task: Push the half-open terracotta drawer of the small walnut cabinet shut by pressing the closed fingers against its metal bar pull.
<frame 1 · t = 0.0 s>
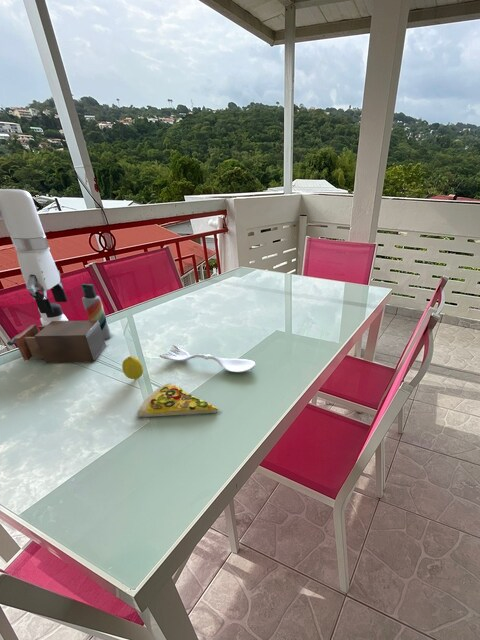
hand: (54, 307, 97), 19 cm above the table, tool pointing down, fingers open, 9 cm apart
drawer: (43, 341, 109), point 5 cm above the table, slide at 5.0 cm
pizza slice: (183, 407, 92), on the table
container: (61, 339, 123), on the table
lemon: (135, 380, 102), on the table
lotion bottle: (103, 337, 126), on the table
cabinet: (77, 354, 114), on the table
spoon: (210, 365, 112), on the table
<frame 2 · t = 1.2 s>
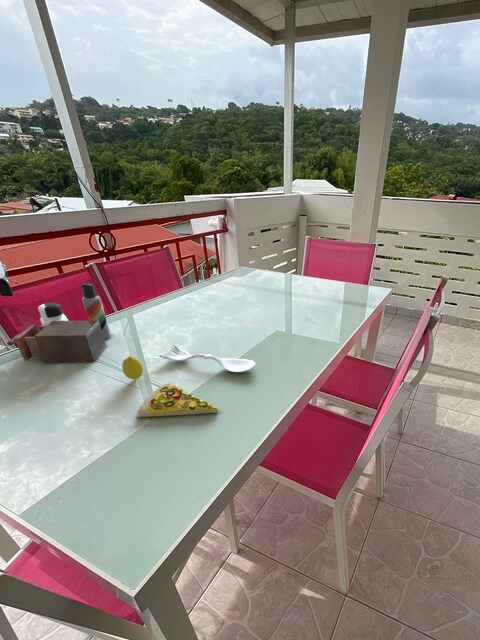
nothing on the table moved.
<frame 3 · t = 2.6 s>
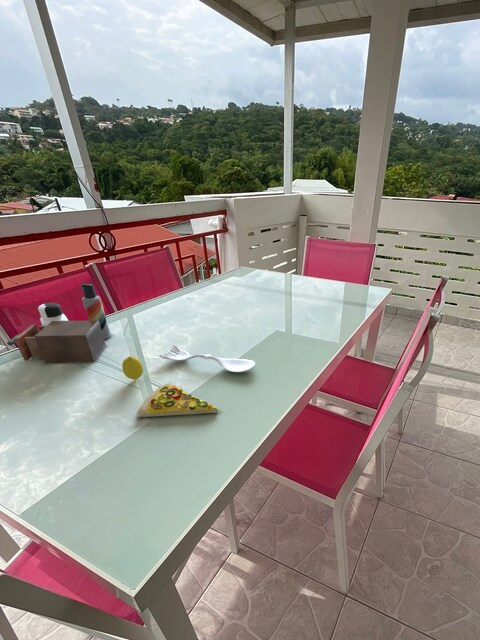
nothing on the table moved.
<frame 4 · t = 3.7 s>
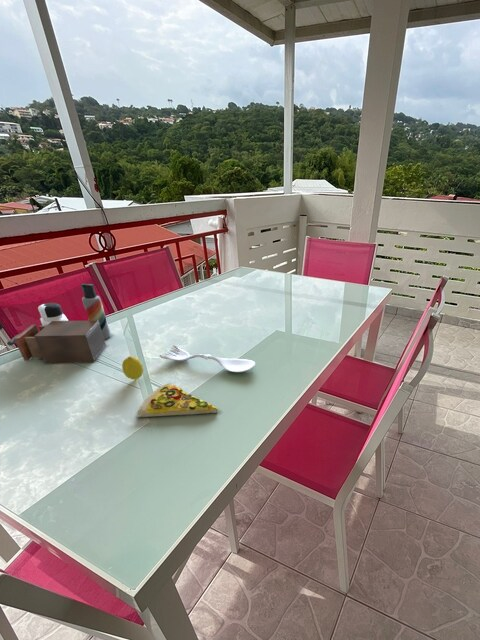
nothing on the table moved.
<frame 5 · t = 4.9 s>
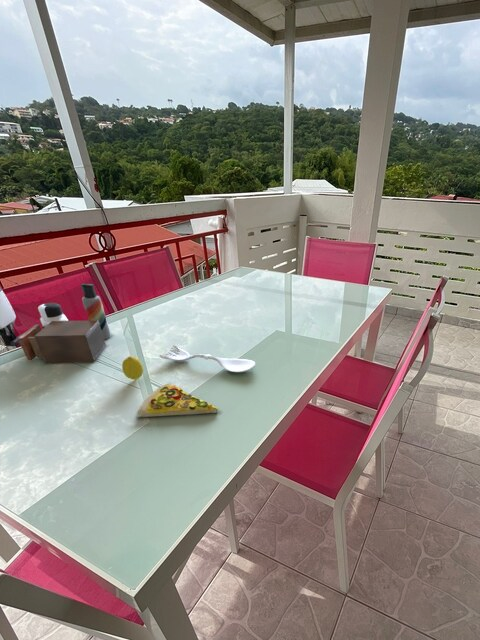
hand: (12, 345, 108), 4 cm above the table, tool pointing down, fingers closed
drawer: (47, 341, 110), point 5 cm above the table, slide at 4.0 cm, touching gripper
everything else where it was.
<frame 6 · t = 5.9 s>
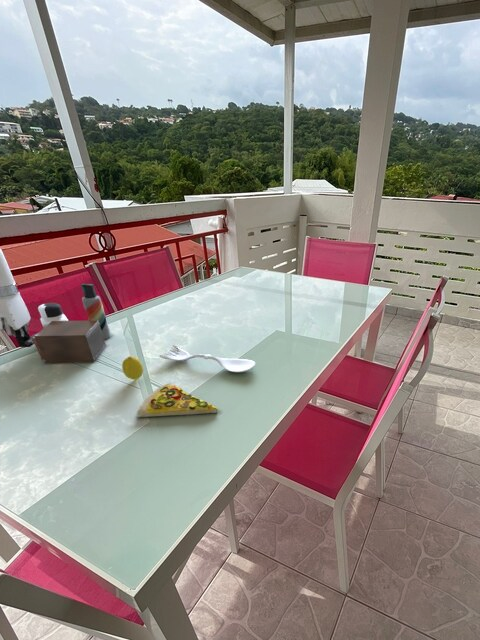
hand: (26, 346, 109), 3 cm above the table, tool pointing down, fingers closed
drawer: (60, 341, 110), point 5 cm above the table, slide at 0.0 cm, touching cabinet, gripper
everything else where it was.
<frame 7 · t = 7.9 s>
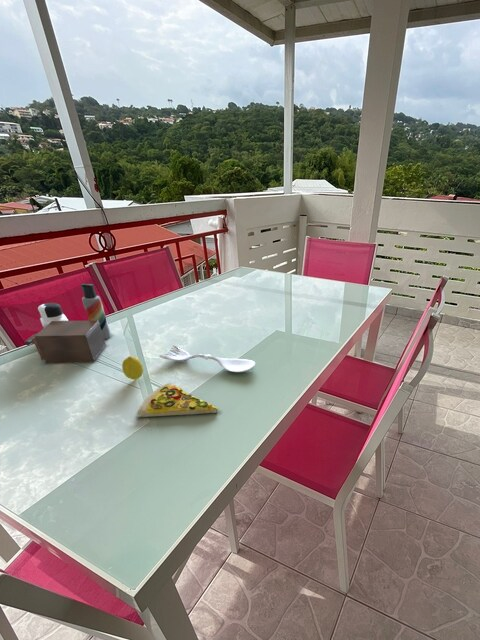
drawer: (60, 341, 110), point 5 cm above the table, slide at 0.0 cm, touching cabinet
everything else where it was.
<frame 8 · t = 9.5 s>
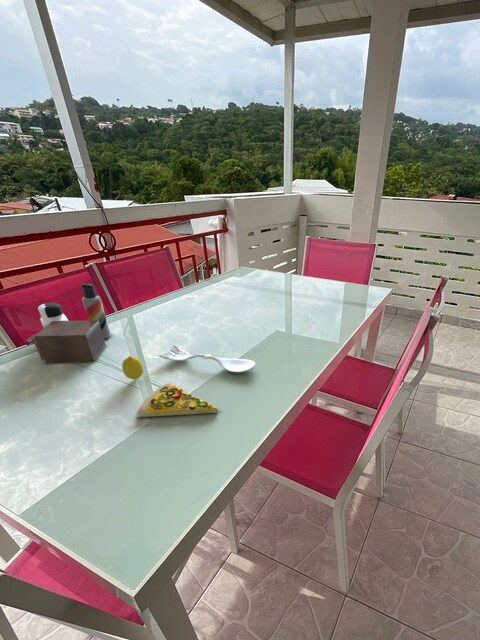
nothing on the table moved.
at the end: drawer slide at 0.0 cm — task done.
